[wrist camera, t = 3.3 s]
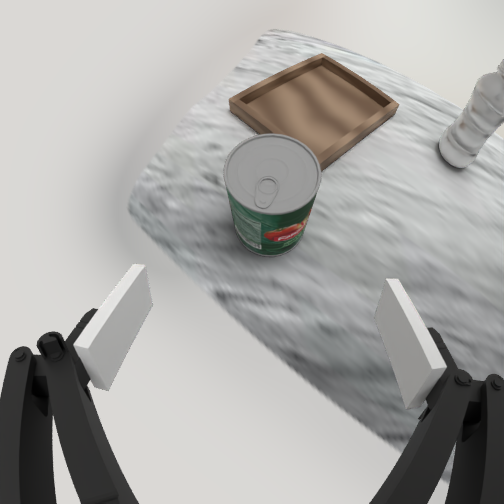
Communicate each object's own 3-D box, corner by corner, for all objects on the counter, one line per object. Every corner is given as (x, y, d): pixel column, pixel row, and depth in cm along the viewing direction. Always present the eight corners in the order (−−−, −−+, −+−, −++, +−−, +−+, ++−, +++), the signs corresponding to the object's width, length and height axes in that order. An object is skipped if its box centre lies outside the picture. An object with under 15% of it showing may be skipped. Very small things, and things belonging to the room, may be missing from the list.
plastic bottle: (427, 147, 37) (487, 51, 18) (447, 134, 37) (501, 50, 18) (454, 179, 35) (528, 92, 16) (472, 164, 36) (537, 85, 17)
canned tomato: (246, 186, 35) (240, 125, 24) (310, 202, 34) (328, 144, 23) (225, 246, 33) (209, 199, 22) (295, 265, 32) (311, 225, 21)
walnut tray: (320, 63, 43) (321, 53, 40) (394, 114, 39) (399, 104, 36) (230, 111, 39) (228, 99, 37) (312, 178, 35) (315, 167, 33)
